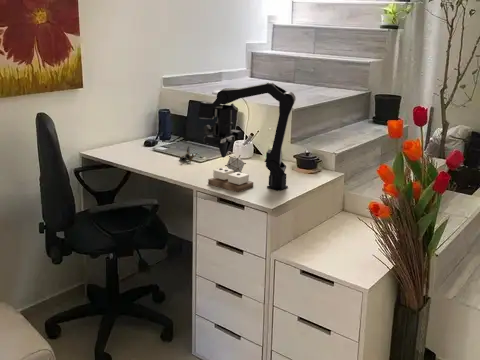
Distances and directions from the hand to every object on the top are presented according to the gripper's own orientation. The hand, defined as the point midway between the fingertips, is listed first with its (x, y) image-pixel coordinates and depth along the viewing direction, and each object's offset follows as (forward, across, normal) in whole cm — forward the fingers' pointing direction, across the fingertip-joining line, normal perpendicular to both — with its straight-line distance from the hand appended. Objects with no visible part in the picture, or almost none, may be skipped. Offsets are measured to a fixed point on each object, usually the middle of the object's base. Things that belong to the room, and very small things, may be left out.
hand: (223, 157), depth 239 cm
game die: (+12, -15, -6) cm, 20 cm away
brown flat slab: (+11, 0, +4) cm, 12 cm away
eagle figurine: (+12, -15, -36) cm, 41 cm away
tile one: (+9, 0, +8) cm, 12 cm away
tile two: (+9, 0, 0) cm, 9 cm away
